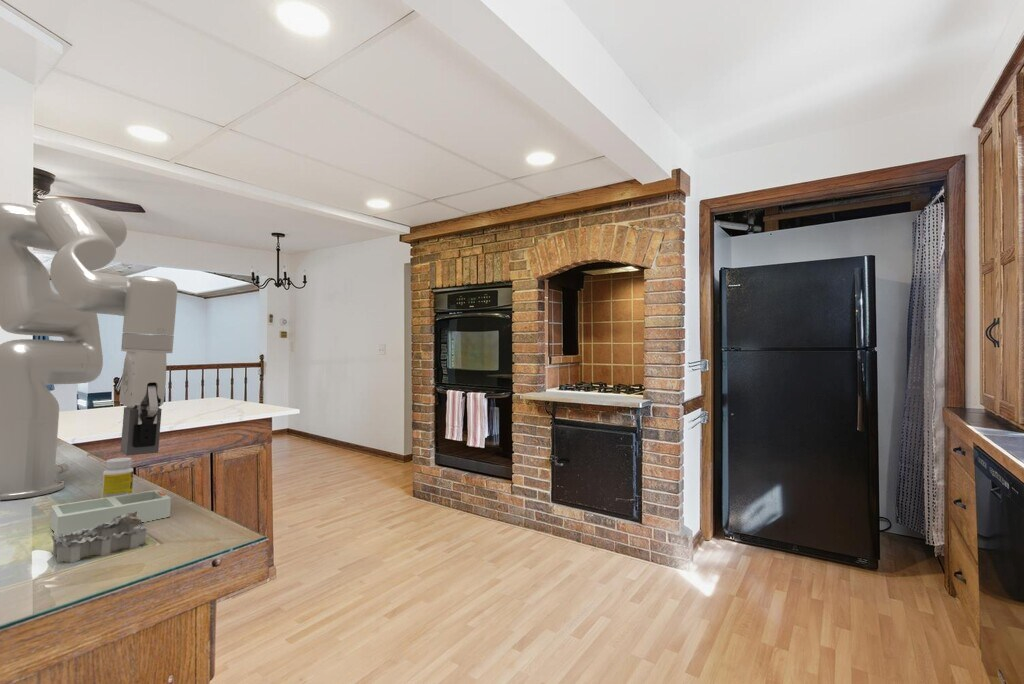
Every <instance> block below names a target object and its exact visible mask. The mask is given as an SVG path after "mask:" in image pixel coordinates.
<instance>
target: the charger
mask: <svg viewBox="0 0 1024 684" xmlns="http://www.w3.org/2000/svg"><path fill="white" fill-rule="evenodd" d="M141 407H145V406H141ZM146 411H147V410H146ZM143 412H144V411H142V413H143ZM122 417H123V419H122V429H121V443H120V452H121V453H122V454H124V455H125V457H128V456H137V455H148V454H150V455H151V454H158V453H159V448H160V447H159V446H160V435H161V433H160V432H161V424H162V423H161V422H162V421H161V420H162V408H160V407H158V411H157V429H156V442H155V445H154V446H148V447H137V448H135V447H133V433H134V425H137V406H135V407H134V408H129V407H127V406H124V407H123V416H122Z"/></svg>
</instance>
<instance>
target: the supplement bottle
mask: <svg viewBox="0 0 1024 684" xmlns="http://www.w3.org/2000/svg"><path fill="white" fill-rule="evenodd" d="M132 462H133V459H132V457H114V458H110V459H107V460H106V461H105V470H104V471H103V472H102V478H101V494H100V498H105V497H112V496H118V495H125V494H131V493H133V485H134V484H133V483H134V482H133V481H134V468H133V467H131V466H132V464H133V463H132Z"/></svg>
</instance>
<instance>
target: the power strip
mask: <svg viewBox="0 0 1024 684" xmlns="http://www.w3.org/2000/svg"><path fill="white" fill-rule="evenodd" d="M171 503H172V498H171V496H169V495H167V494H166V493H165V491H162V490H161V489H153V490H145V491H140V492H132V493H131V494H125V495H118V496H112V497H105V498H101V497H100V498H91V499H87V500H80V501H75V502H74V501H73V502H67V503H62V504H54V505H53V504H52V505H51V508H50V520H49V526H50V525H51V527H52V529H53V531H54V533H55V535H60V534H63V536H64V535H66V534H70V533H72V532H75V531H78V530H81V529H88V528H92V527H95V526H98V525H99V524H100V523H107V522H111V521H112V520H113V518H114V517H117V516H120V515H125V514H126V513H134V512H137V515H138V516H139V517H140V519H141V522H144V523H148V522H147V521H150V522H153V521H152V520H155V521H157V520H156V519H160V518H164V517H168V516H170V517H171V507H172V506H171ZM160 520H161V519H160ZM54 533H53V534H54Z"/></svg>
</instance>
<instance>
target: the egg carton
mask: <svg viewBox="0 0 1024 684" xmlns="http://www.w3.org/2000/svg"><path fill="white" fill-rule="evenodd" d="M147 530H149V528H148V527H147V526H146V525H145V523H142V522H141V519H140V517H139V516H138V515H137V512H134V513H126V514H125V515H120V516H117V517H114V518H113V520H112V521H111V522H107V523H100V524H99V525H98V526H95V527H92V528H88V529H81V530H78V531H75V532H72V533H70V534H66V535H64V536H63V534H60V535H54V534H53V535H51V540H52V542H53V543H52V545H53V546H52V547H53V548H52V556H53V555H57V556H56V559H55V561H56V563H58V562H59V563H63V562H62V561H69V562H68V563H70V562H71V563H74V562H73V561H76V562H78V561H77V560H79V561H80V560H81V559H83V558H85V557H84V556H86V557H90V556H95V555H96V556H106V555H110V554H111V553H112V552H114V551H117V550H122V549H131V550H132V549H136V548H139V546H140V545H142V544H145V543H146V535H147V533H146V532H147ZM89 555H90V556H89ZM82 557H83V558H82ZM80 558H81V559H80Z"/></svg>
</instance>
